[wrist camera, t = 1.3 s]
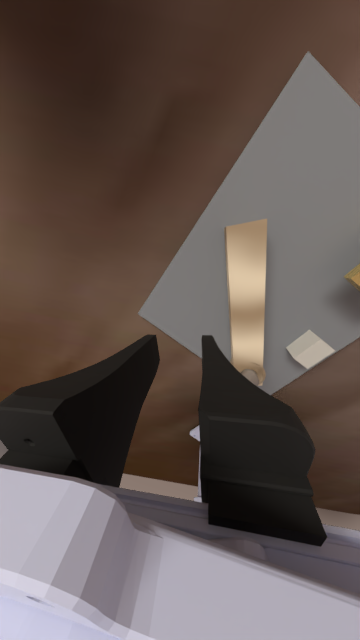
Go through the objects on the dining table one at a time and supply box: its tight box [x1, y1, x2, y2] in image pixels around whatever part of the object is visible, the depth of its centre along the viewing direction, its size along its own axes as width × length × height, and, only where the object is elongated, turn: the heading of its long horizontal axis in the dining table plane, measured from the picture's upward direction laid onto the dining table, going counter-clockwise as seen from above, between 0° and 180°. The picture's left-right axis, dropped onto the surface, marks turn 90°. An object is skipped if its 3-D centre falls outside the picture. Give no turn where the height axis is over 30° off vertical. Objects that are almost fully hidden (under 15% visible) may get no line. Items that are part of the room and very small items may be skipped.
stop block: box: [286, 330, 335, 369], centre depth 18 cm, size 2×3×2 cm, turn 144°
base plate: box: [138, 51, 360, 395], centre depth 17 cm, size 20×23×1 cm
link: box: [224, 219, 267, 386], centre depth 17 cm, size 17×4×3 cm, turn 10°
